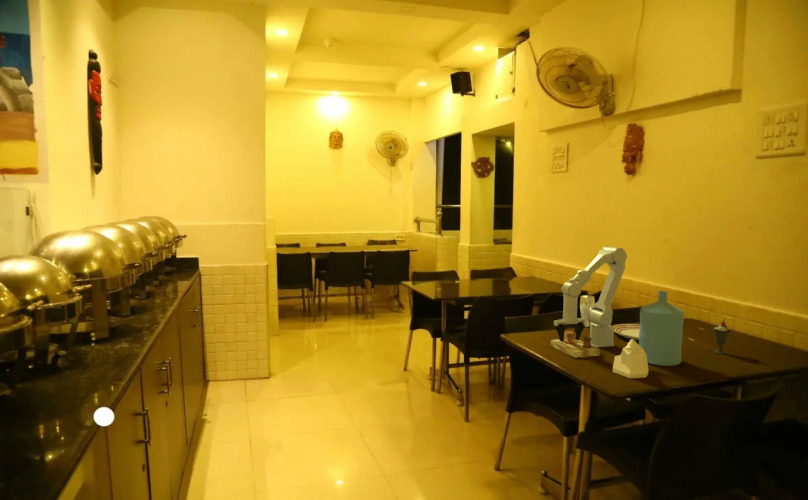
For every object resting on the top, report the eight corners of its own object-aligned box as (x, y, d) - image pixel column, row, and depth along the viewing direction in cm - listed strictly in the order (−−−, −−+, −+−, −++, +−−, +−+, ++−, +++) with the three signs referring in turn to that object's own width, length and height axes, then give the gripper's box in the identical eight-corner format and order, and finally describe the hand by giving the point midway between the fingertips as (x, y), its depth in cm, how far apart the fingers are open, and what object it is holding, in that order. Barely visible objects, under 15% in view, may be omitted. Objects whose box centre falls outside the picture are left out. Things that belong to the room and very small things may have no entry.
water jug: (679, 369, 197) (683, 297, 194) (635, 362, 206) (638, 293, 203) (682, 358, 211) (686, 290, 207) (640, 352, 219) (644, 286, 216)
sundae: (723, 356, 213) (725, 320, 212) (707, 351, 219) (709, 317, 218) (732, 353, 216) (735, 318, 215) (717, 349, 222) (719, 315, 221)
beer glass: (594, 327, 258) (595, 298, 256) (580, 327, 259) (581, 297, 258) (592, 324, 265) (593, 295, 263) (578, 323, 266) (579, 294, 264)
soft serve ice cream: (660, 381, 189) (664, 348, 184) (619, 385, 189) (621, 351, 184) (645, 362, 201) (648, 330, 195) (606, 365, 201) (608, 333, 196)
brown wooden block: (570, 346, 227) (571, 330, 226) (575, 348, 224) (576, 333, 223) (563, 347, 226) (564, 331, 225) (568, 349, 223) (568, 333, 222)
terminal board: (574, 343, 232) (574, 329, 231) (599, 355, 214) (600, 340, 214) (550, 345, 228) (550, 331, 228) (574, 358, 211) (575, 342, 210)
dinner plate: (633, 326, 261) (633, 320, 260) (688, 339, 238) (688, 332, 238) (599, 335, 246) (599, 328, 245) (654, 349, 223) (654, 342, 222)
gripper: (560, 313, 218) (559, 344, 219) (590, 310, 222) (589, 341, 223) (551, 309, 224) (550, 339, 226) (580, 307, 228) (579, 337, 230)
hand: (569, 340), depth 225 cm, fingers open, 7 cm apart
